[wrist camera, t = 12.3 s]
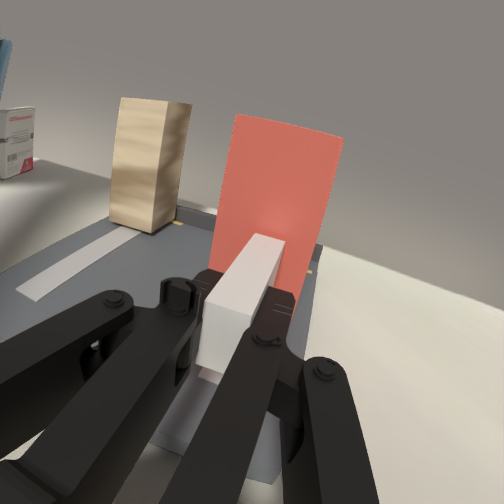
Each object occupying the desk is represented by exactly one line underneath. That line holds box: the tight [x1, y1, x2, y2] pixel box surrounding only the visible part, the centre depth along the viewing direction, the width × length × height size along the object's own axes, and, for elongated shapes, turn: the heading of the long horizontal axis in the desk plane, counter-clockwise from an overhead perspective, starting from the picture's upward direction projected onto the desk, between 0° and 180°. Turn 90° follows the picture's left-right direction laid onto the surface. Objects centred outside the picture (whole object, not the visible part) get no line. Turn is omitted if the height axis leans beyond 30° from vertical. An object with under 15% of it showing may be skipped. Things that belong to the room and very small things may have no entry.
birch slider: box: [109, 98, 192, 233], centre depth 29 cm, size 5×5×12 cm
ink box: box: [0, 106, 35, 179], centre depth 42 cm, size 9×5×12 cm, turn 178°
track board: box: [0, 205, 323, 484], centre depth 24 cm, size 24×22×3 cm
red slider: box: [208, 114, 344, 323], centre depth 18 cm, size 5×5×12 cm
